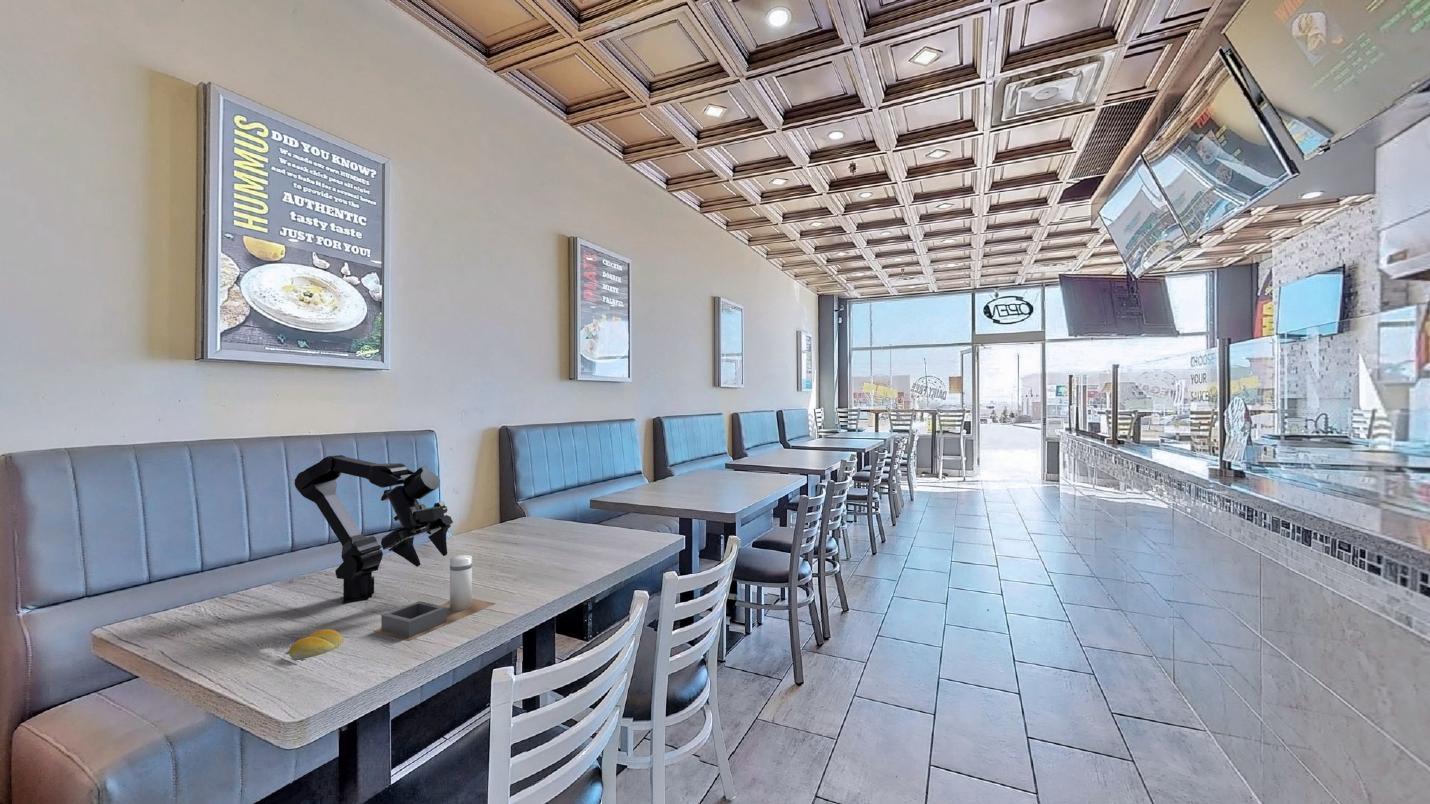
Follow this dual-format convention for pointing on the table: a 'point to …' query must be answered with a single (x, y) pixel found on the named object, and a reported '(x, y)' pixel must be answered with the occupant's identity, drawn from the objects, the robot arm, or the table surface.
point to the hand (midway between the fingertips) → (432, 560)
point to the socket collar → (413, 619)
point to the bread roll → (316, 644)
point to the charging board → (451, 617)
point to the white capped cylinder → (460, 582)
